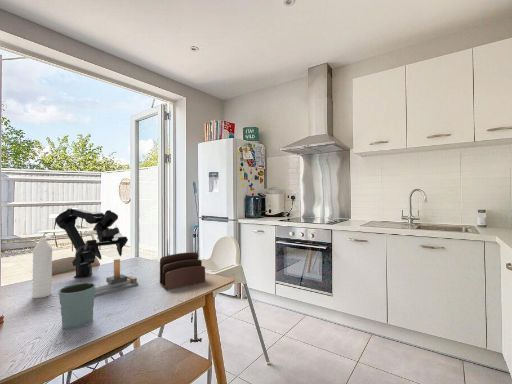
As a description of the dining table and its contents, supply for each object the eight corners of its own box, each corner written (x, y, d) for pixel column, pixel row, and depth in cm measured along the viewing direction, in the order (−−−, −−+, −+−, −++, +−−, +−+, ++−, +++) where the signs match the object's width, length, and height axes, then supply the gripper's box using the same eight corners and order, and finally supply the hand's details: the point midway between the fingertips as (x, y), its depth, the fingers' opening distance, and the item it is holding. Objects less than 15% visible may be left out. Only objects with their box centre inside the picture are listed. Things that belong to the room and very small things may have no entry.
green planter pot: (101, 315, 92) (101, 282, 92) (83, 330, 82) (83, 292, 82) (72, 316, 92) (72, 282, 92) (50, 331, 82) (50, 293, 82)
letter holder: (159, 284, 126) (159, 255, 126) (197, 277, 137) (197, 250, 138) (165, 290, 118) (165, 259, 118) (205, 282, 129) (205, 253, 129)
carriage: (121, 278, 126) (122, 257, 126) (127, 280, 122) (127, 259, 123) (106, 281, 121) (106, 260, 121) (111, 284, 117) (111, 262, 117)
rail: (129, 281, 130) (129, 275, 131) (138, 285, 125) (138, 278, 125) (68, 296, 111) (68, 289, 111) (74, 301, 105) (74, 294, 105)
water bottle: (46, 297, 109) (47, 238, 110) (28, 299, 108) (29, 239, 108) (57, 290, 118) (58, 235, 118) (41, 291, 116) (41, 236, 117)
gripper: (86, 223, 123) (94, 250, 116) (126, 221, 137) (135, 245, 130) (80, 237, 128) (87, 264, 121) (120, 234, 142) (128, 257, 135)
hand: (111, 257), depth 127 cm, fingers open, 9 cm apart
